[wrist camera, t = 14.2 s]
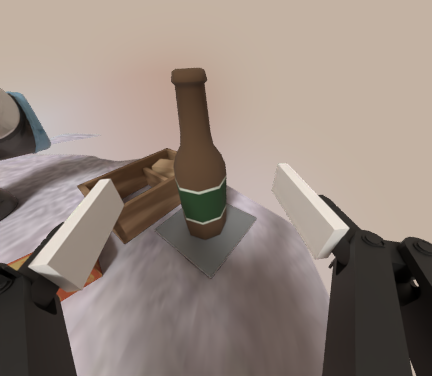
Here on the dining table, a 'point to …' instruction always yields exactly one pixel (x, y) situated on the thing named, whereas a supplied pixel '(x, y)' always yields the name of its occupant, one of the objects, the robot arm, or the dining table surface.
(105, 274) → the dining table surface
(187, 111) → the beer bottle
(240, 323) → the dining table surface
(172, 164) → the offcut upper
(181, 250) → the plate
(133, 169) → the wooden box
